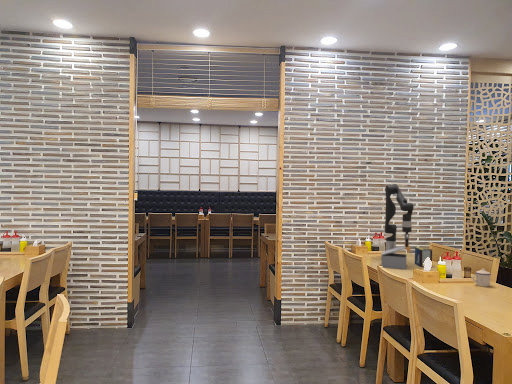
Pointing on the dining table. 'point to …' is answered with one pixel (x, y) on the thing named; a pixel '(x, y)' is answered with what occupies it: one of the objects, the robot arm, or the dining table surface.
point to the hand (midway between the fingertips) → (406, 246)
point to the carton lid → (397, 249)
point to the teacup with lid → (482, 278)
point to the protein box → (422, 255)
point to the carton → (394, 261)
